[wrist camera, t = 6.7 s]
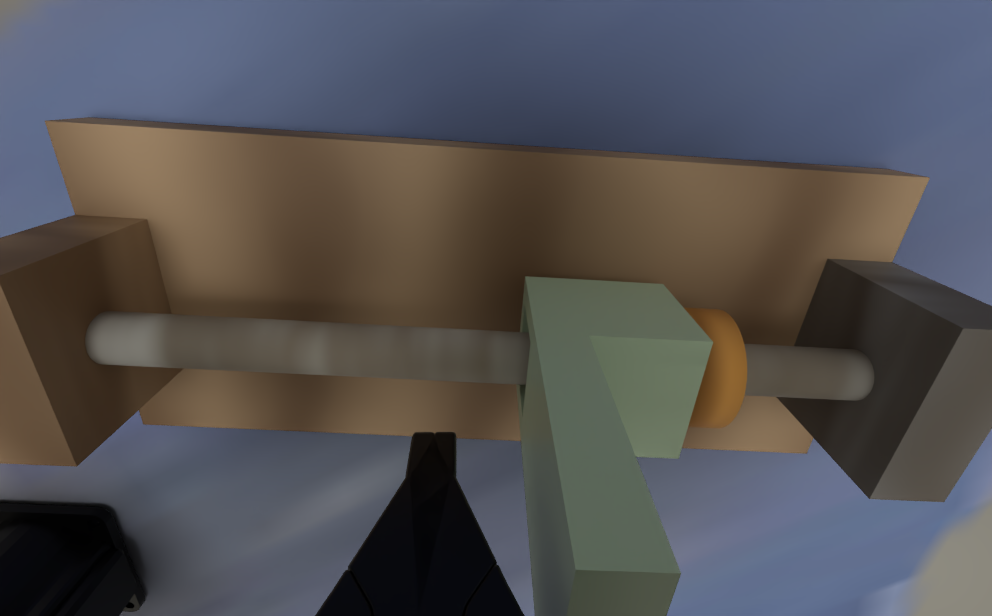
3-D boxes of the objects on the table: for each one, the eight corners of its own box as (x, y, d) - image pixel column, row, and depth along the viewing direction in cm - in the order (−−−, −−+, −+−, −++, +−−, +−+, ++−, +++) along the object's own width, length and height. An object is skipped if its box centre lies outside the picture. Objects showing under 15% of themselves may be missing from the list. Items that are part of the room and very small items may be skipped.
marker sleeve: (515, 376, 15) (543, 726, 7) (525, 276, 13) (575, 569, 5) (640, 382, 15) (816, 733, 7) (663, 284, 14) (920, 582, 5)
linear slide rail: (170, 398, 18) (29, 534, 12) (89, 117, 14) (-177, 137, 8) (783, 427, 19) (902, 566, 13) (888, 169, 14) (1127, 218, 9)
